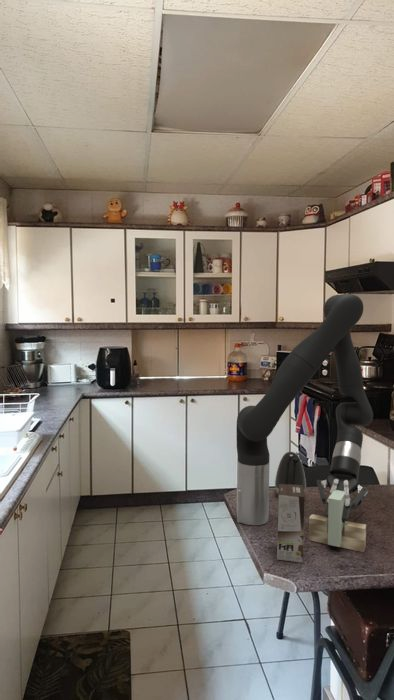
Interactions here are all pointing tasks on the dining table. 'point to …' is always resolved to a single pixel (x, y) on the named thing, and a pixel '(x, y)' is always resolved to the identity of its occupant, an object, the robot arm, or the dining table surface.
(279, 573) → the dining table surface
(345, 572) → the dining table surface
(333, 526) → the mint green upright block
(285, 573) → the dining table surface
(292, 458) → the dark grey rounded-top part
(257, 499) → the robot arm
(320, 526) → the birch slotted plate
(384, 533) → the dining table surface
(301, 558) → the coffee box
